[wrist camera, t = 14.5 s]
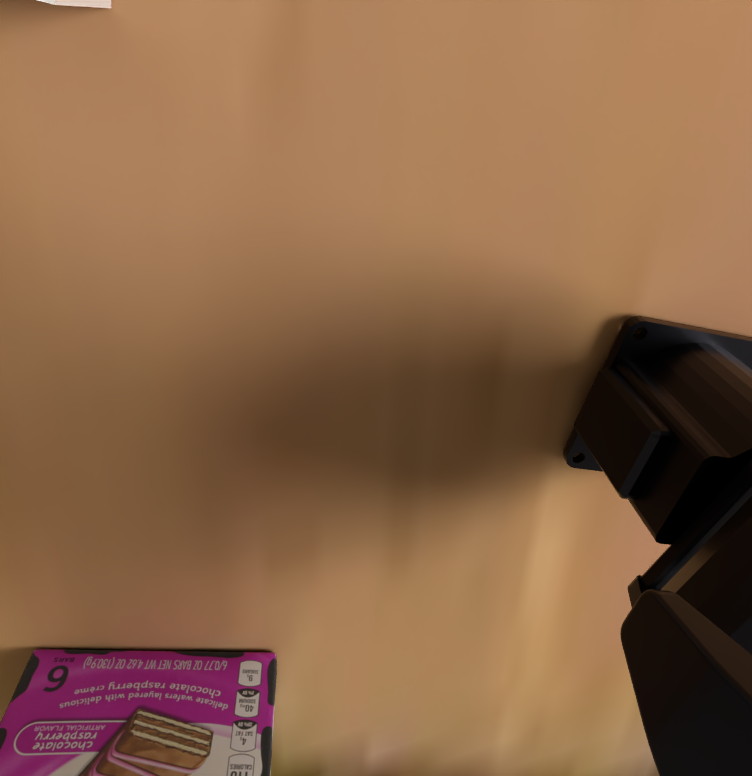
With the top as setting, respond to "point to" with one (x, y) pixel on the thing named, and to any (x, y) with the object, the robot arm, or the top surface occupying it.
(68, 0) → the bore box
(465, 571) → the top surface
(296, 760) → the top surface
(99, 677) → the candy bar box
